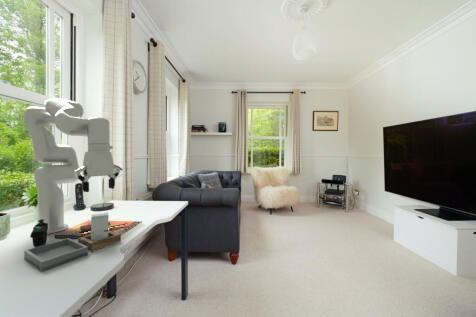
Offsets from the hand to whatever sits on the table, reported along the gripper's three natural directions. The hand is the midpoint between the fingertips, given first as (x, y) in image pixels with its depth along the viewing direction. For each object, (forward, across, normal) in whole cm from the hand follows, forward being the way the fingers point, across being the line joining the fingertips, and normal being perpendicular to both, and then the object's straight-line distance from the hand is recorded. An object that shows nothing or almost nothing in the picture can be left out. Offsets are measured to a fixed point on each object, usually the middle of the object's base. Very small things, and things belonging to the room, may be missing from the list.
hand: (99, 190), depth 87 cm
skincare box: (+22, 0, 0) cm, 23 cm away
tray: (+22, +14, -1) cm, 26 cm away
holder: (+22, 0, 0) cm, 22 cm away
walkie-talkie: (+23, -10, -17) cm, 30 cm away
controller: (+22, +14, -17) cm, 32 cm away
